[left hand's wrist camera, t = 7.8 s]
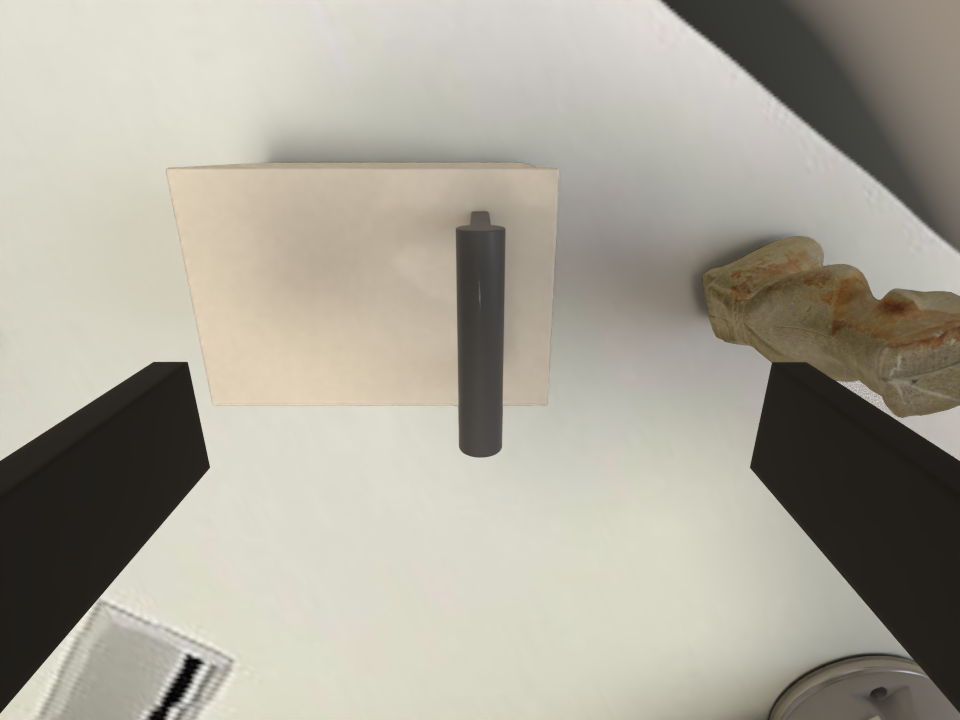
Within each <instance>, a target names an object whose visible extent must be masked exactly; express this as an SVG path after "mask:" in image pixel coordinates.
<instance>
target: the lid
mask: <svg viewBox="0 0 960 720" xmlns="http://www.w3.org/2000/svg"><path fill="white" fill-rule="evenodd" d="M559 172H560V170H559V168H555V167H175V168H167V169H166V173H167V179H168V184H169V189H170V194H171V199H172V204H173V209H174V214H175V219H176V224H177V229H178V234H179V239H180V244H181V249H182V254H183V259H184V264H185V269H186V274H187V279H188V284H189V289H190V294H191V299H192V304H193V309H194V314H195V319H196V324H197V329H198V334H199V339H200V344H201V349H202V354H203V359H204V364H205V369H206V374H207V379H208V384H209V389H210V394H211V399H212V404H213V405H214V406H458V410H459V448H460V450H461V451H462V452H463V453H464V454H466V455H469V456H472V457H489V456H492V455H495V454H497V453H498V452H499V451H500V450H501V448H502V416H503V406H526V405H547V404H548V389H549V369H550V350H551V330H552V310H553V290H554V271H555V251H556V231H557V211H558V192H559Z"/></svg>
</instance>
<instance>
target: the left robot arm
mask: <svg viewBox="0 0 960 720" xmlns="http://www.w3.org/2000/svg"><path fill="white" fill-rule="evenodd" d="M209 468H210V465H209V461H208V456H207V451H206V446H205V442H204V437H203V432H202V427H201V423H200V418H199V413H198V409H197V404H196V399H195V394H194V390H193V385H192V380H191V375H190V371H189V366H188V362H153V363H151V364H150V365H148V366H147V367H145V368H144V369H142V370H140V371H139V372H137V373H136V374H134V375H133V376H131V377H130V378H128V379H127V380H125V381H123V382H122V383H120V384H119V385H117V386H116V387H114V388H113V389H111V390H110V391H108V392H106V393H105V394H103V395H102V396H100V397H99V398H97V399H96V400H94V401H92V402H91V403H89V404H88V405H86V406H85V407H83V408H82V409H80V410H79V411H77V412H75V413H74V414H72V415H71V416H69V417H68V418H66V419H65V420H63V421H62V422H60V423H58V424H57V425H55V426H54V427H52V428H51V429H49V430H48V431H46V432H44V433H43V434H41V435H40V436H38V437H37V438H35V439H34V440H32V441H31V442H29V443H27V444H26V445H24V446H23V447H21V448H20V449H18V450H17V451H15V452H13V453H12V454H10V455H9V456H7V457H6V458H4V459H3V460H1V461H0V713H1V712H2V711H3V710H4V708H5V707H6V706H7V705H8V704H9V703H10V701H11V700H12V699H13V698H14V697H15V696H16V694H17V693H18V692H19V691H20V690H21V689H22V687H23V686H24V685H25V684H26V683H27V681H28V680H29V679H30V678H31V677H32V676H33V674H34V673H35V672H36V671H37V670H38V669H39V667H40V666H41V665H42V664H43V663H44V662H45V660H46V659H47V658H48V657H49V656H50V655H51V653H52V652H53V651H54V650H55V649H56V647H57V646H58V645H59V644H60V643H61V642H62V640H63V639H64V638H65V637H66V636H67V635H68V633H69V632H70V631H71V630H72V629H73V628H74V626H75V625H76V624H77V623H78V622H79V621H80V619H81V618H82V617H83V616H84V615H85V614H86V612H87V611H88V610H89V609H90V608H91V606H92V605H93V604H94V603H95V602H96V601H97V599H98V598H99V597H100V596H101V595H102V594H103V592H104V591H105V590H106V589H107V588H108V587H109V585H110V584H111V583H112V582H113V581H114V580H115V578H116V577H117V576H118V575H119V574H120V573H121V571H122V570H123V569H124V568H125V567H126V565H127V564H128V563H129V562H130V561H131V560H132V558H133V557H134V556H135V555H136V554H137V553H138V551H139V550H140V549H141V548H142V547H143V546H144V544H145V543H146V542H147V541H148V540H149V539H150V537H151V536H152V535H153V534H154V533H155V531H156V530H157V529H158V528H159V527H160V526H161V524H162V523H163V522H164V521H165V520H166V519H167V517H168V516H169V515H170V514H171V513H172V512H173V510H174V509H175V508H176V507H177V506H178V505H179V503H180V502H181V501H182V500H183V499H184V498H185V496H186V495H187V494H188V493H189V492H190V490H191V489H192V488H193V487H194V486H195V485H196V483H197V482H198V481H199V480H200V479H201V478H202V476H203V475H204V474H205V473H206V472H207V471H208V469H209ZM750 468H751V469H752V471H753V472H754V473H755V474H756V475H757V476H758V478H759V479H760V480H761V481H762V482H763V483H764V485H765V486H766V487H767V488H768V489H769V490H770V492H771V493H772V494H773V495H774V496H775V498H776V499H777V500H778V501H779V502H780V503H781V505H782V506H783V507H784V508H785V509H786V510H787V512H788V513H789V514H790V515H791V516H792V517H793V519H794V520H795V521H796V522H797V523H798V524H799V526H800V527H801V528H802V529H803V530H804V532H805V533H806V534H807V535H808V536H809V537H810V539H811V540H812V541H813V542H814V543H815V544H816V546H817V547H818V548H819V549H820V550H821V551H822V553H823V554H824V555H825V556H826V557H827V558H828V560H829V561H830V562H831V563H832V564H833V565H834V567H835V568H836V569H837V570H838V571H839V573H840V574H841V575H842V576H843V577H844V578H845V580H846V581H847V582H848V583H849V584H850V585H851V587H852V588H853V589H854V590H855V591H856V592H857V594H858V595H859V596H860V597H861V598H862V599H863V601H864V602H865V603H866V604H867V605H868V606H869V608H870V609H871V610H872V611H873V612H874V614H875V615H876V616H877V617H878V618H879V619H880V621H881V622H882V623H883V624H884V625H885V626H886V628H887V629H888V630H889V631H890V632H891V633H892V635H893V636H894V637H895V638H896V639H897V640H898V642H899V643H900V644H901V645H902V646H903V647H904V649H905V650H906V651H907V652H908V653H909V655H910V656H911V657H912V658H913V659H914V660H915V662H914V661H911V660H908V659H904V658H899V657H893V656H864V657H857V658H851V659H847V660H843V661H839V662H836V663H833V664H830V665H827V666H825V667H823V668H820V669H818V670H816V671H814V672H812V673H811V674H809V675H807V676H805V677H804V678H802V679H801V680H799V681H798V682H797V683H795V684H794V685H793V686H792V687H791V688H790V689H788V690H787V691H786V692H785V693H784V695H783V696H782V697H781V698H780V699H779V701H778V702H777V703H776V705H775V707H774V708H773V711H772V713H771V715H770V718H769V720H960V461H959V460H957V459H956V458H954V457H953V456H951V455H950V454H948V453H946V452H945V451H943V450H942V449H940V448H939V447H937V446H936V445H934V444H933V443H931V442H929V441H928V440H926V439H925V438H923V437H922V436H920V435H919V434H917V433H916V432H914V431H912V430H911V429H909V428H908V427H906V426H905V425H903V424H902V423H900V422H898V421H897V420H895V419H894V418H892V417H891V416H889V415H888V414H886V413H885V412H883V411H881V410H880V409H878V408H877V407H875V406H874V405H872V404H871V403H869V402H868V401H866V400H864V399H863V398H861V397H860V396H858V395H857V394H855V393H854V392H852V391H850V390H849V389H847V388H846V387H844V386H843V385H841V384H840V383H838V382H837V381H835V380H833V379H832V378H830V377H829V376H827V375H826V374H824V373H823V372H821V371H820V370H818V369H816V368H815V367H813V366H812V365H810V364H809V363H807V362H772V366H771V371H770V375H769V380H768V385H767V390H766V394H765V399H764V404H763V409H762V413H761V418H760V423H759V427H758V432H757V437H756V442H755V446H754V451H753V456H752V461H751V465H750Z"/></svg>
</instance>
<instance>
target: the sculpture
mask: <svg viewBox="0 0 960 720" xmlns="http://www.w3.org/2000/svg"><path fill="white" fill-rule="evenodd" d="M823 258H824V256H823V250H822V248H821V246H820V245H819V244H818V243H817V242H816V241H814V240H813V239H811V238H809V237H802V236H798V237H789V238H785V239H781V240H778V241H775V242H773V243H770V244H768V245H766V246H764V247H762V248H760V249H758V250H756V251H754V252H752V253H750V254H748V255H746V256H744V257H742V258H741V259H739V260H737V261H735V262H733V263H730V264H728V265H725V266H722V267H715V268H712V269H710V270H708V271H707V272H705V273H704V275H703V288H704V293H705V297H706V303H707V309H708V314H709V319H710V323H711V326H712V329H713V331H714V333H715V335H716V337H717V338H719V339H722V340H724V341H725V342H728V343H733V344H740V345H750V346H752V347H754V348H755V349H756V350H757V351H758V352H759V353H761V354H762V355H763V356H764V357H766V358H767V359H768V360H769V361H770V362H807V363H809V364H810V365H812V366H813V367H815V368H816V369H818V370H820V371H821V372H823V373H824V374H826V375H827V376H829V377H830V378H832V379H833V380H835V381H845V382H852V381H857V380H860V381H861V382H862V383H863V384H865V385H866V386H867V387H868V388H869V389H871V390H872V391H874V392H875V393H877V394H879V395H880V396H882V398H883V400H884V402H885V404H886V405H887V407H888V408H889V409H890V410H891V411H892V412H893V413H894V414H895V415H896V416H898V417H901V418H904V417H907V416H914V415H927V414H932V413H936V412H941V411H945V410H949V409H951V408H954V407H956V406H959V405H960V296H958V295H956V294H954V293H952V292H945V291H932V292H920V291H913V290H905V289H893V290H891V291H890V292H889V293H887V294H886V295H885V296H884V298H883V299H881V300H877V299H875V297H874V296H873V295H872V293H871V291H870V288H869V285H868V282H867V280H866V278H865V277H864V275H863V273H862V272H860V271H859V270H858V269H857V268H855V267H853V266H850V265H846V264H835V265H828V266H823Z"/></svg>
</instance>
